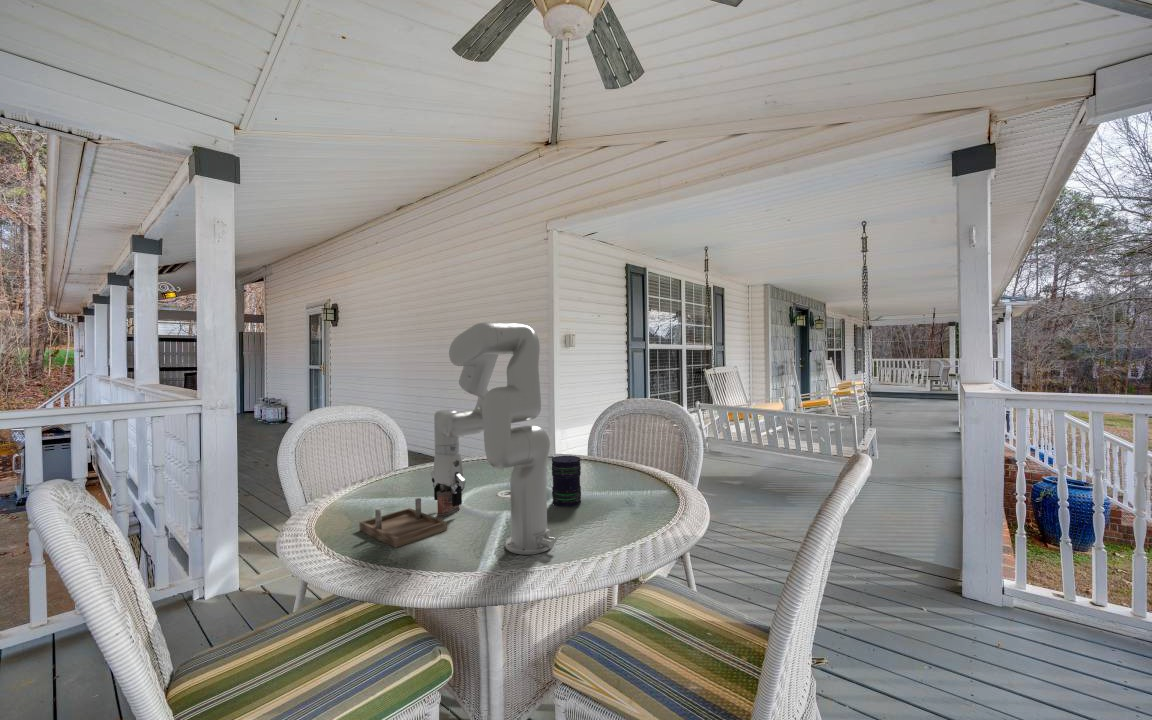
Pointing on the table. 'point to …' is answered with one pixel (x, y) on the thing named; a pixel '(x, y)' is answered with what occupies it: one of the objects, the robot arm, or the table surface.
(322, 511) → the table surface
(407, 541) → the pin tray
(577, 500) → the storage jar
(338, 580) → the table surface
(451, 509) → the lighter
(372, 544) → the table surface
